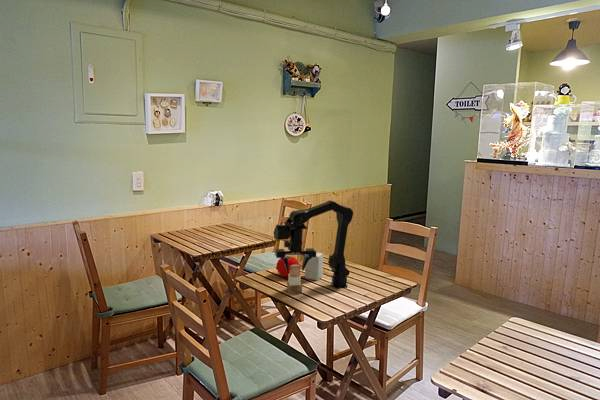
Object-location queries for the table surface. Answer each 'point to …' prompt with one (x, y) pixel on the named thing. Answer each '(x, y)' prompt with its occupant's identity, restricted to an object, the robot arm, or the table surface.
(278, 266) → the tomato
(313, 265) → the supplement box
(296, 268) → the brown rounded lump
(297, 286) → the walnut base block
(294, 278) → the cream block
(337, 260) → the robot arm
